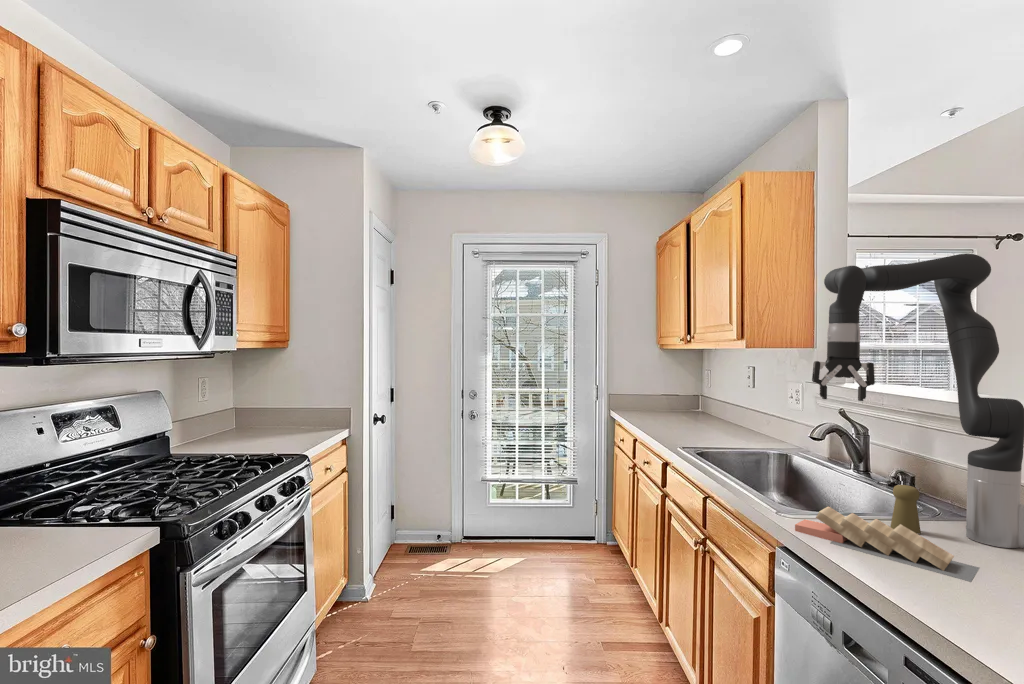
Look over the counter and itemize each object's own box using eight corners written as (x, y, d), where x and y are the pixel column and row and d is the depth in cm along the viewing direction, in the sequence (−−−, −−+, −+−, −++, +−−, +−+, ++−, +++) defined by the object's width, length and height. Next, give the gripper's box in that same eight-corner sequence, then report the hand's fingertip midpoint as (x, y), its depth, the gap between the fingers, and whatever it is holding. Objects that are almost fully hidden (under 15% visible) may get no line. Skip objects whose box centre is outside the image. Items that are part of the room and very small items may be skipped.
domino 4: (926, 549, 110) (876, 518, 117) (920, 556, 106) (867, 524, 113) (922, 555, 111) (872, 525, 117) (915, 563, 107) (863, 531, 114)
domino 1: (851, 529, 121) (804, 519, 128) (842, 535, 117) (794, 524, 124) (851, 537, 120) (804, 526, 128) (842, 543, 117) (795, 532, 124)
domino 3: (900, 542, 114) (852, 512, 120) (892, 549, 110) (843, 518, 116) (895, 548, 114) (848, 518, 121) (888, 555, 110) (839, 524, 117)
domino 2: (873, 534, 117) (828, 506, 124) (865, 540, 113) (819, 511, 120) (869, 540, 118) (824, 512, 125) (861, 547, 114) (815, 517, 121)
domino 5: (954, 556, 107) (900, 524, 114) (948, 563, 103) (892, 530, 110) (949, 562, 107) (896, 530, 114) (943, 570, 103) (888, 537, 110)
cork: (926, 536, 123) (927, 490, 123) (897, 534, 124) (898, 488, 124) (912, 527, 129) (913, 483, 129) (885, 525, 130) (886, 481, 130)
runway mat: (979, 569, 105) (979, 567, 105) (970, 583, 99) (970, 581, 99) (844, 534, 123) (844, 533, 123) (829, 544, 117) (829, 543, 117)
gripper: (869, 341, 143) (868, 400, 143) (810, 340, 147) (809, 397, 147) (878, 340, 136) (877, 402, 136) (816, 339, 140) (815, 399, 140)
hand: (842, 399), depth 142 cm, fingers open, 8 cm apart
